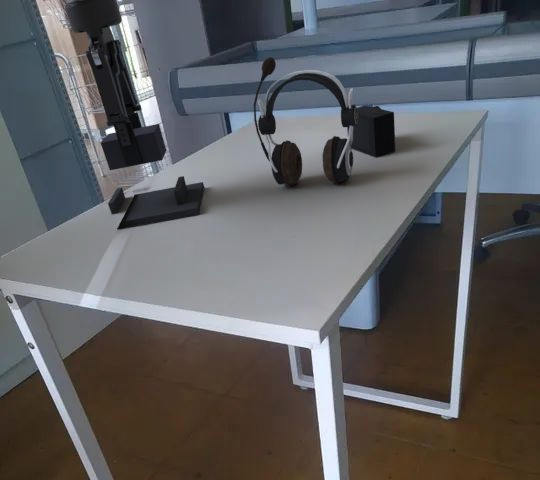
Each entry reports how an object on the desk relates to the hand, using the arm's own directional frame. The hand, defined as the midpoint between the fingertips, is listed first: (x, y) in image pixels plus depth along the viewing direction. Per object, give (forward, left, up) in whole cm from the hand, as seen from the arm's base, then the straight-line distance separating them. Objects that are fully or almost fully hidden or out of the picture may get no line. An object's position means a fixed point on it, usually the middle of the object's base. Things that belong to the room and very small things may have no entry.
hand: (138, 158), depth 92 cm
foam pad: (0, 0, 0) cm, 0 cm away
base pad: (0, 0, -9) cm, 9 cm away
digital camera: (+42, +12, -9) cm, 45 cm away
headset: (+29, -2, -9) cm, 30 cm away
